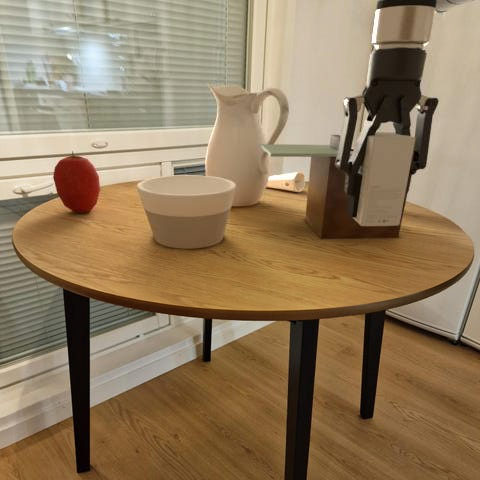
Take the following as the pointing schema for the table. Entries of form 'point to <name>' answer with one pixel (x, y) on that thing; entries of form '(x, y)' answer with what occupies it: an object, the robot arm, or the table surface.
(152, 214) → the bowl
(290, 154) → the sliding box lid
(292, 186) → the long cone
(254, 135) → the pitcher
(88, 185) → the apple
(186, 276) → the table surface
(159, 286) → the table surface
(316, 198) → the case
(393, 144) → the small box
